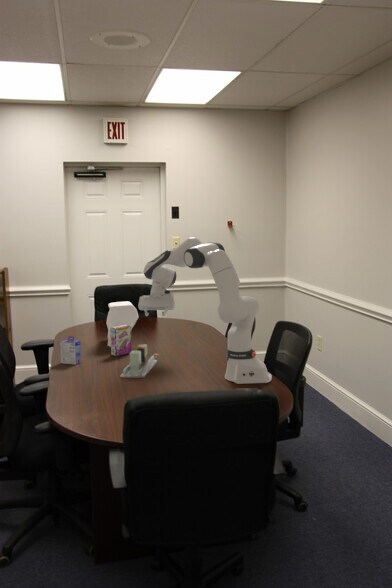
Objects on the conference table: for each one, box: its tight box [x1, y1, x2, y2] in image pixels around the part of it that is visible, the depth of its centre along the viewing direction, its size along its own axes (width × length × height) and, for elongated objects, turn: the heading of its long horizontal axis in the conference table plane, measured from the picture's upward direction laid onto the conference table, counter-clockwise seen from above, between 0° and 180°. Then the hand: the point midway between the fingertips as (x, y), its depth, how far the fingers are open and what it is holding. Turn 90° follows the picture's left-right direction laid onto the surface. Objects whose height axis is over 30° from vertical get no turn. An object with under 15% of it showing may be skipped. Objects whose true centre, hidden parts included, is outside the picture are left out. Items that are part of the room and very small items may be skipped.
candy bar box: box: [110, 325, 132, 357], centre depth 282 cm, size 11×5×16 cm, turn 134°
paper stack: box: [106, 300, 140, 348], centre depth 308 cm, size 21×27×26 cm
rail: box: [119, 350, 158, 379], centre depth 253 cm, size 12×28×11 cm, turn 172°
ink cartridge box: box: [59, 335, 82, 365], centre depth 266 cm, size 10×6×14 cm, turn 70°
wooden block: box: [136, 343, 149, 365], centre depth 258 cm, size 4×6×10 cm
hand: (155, 315), depth 268 cm, fingers open, 8 cm apart
